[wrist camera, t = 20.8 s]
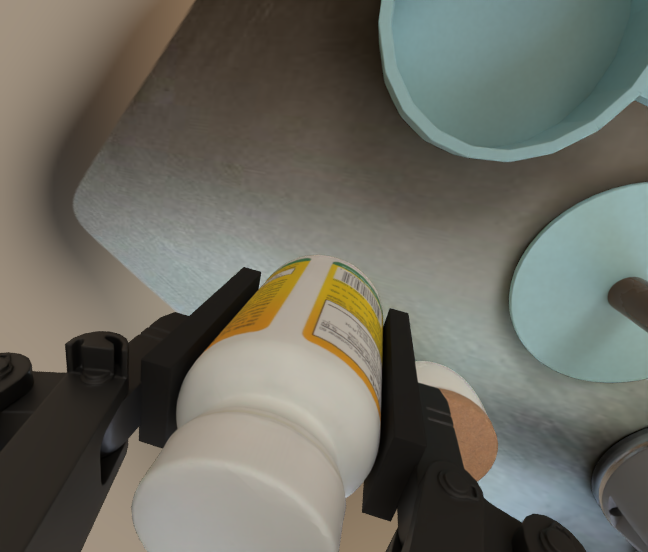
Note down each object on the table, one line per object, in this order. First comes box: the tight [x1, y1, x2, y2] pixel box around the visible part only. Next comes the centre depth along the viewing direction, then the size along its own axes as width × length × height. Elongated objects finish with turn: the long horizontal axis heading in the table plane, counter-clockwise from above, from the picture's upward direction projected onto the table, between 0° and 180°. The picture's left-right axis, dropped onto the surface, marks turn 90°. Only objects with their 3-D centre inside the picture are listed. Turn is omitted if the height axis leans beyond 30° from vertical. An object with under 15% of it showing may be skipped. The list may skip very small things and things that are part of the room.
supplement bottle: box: [132, 255, 383, 552], centre depth 11 cm, size 5×5×10 cm
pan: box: [378, 0, 648, 162], centre depth 22 cm, size 16×22×5 cm
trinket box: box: [415, 361, 498, 481], centre depth 31 cm, size 11×11×9 cm
